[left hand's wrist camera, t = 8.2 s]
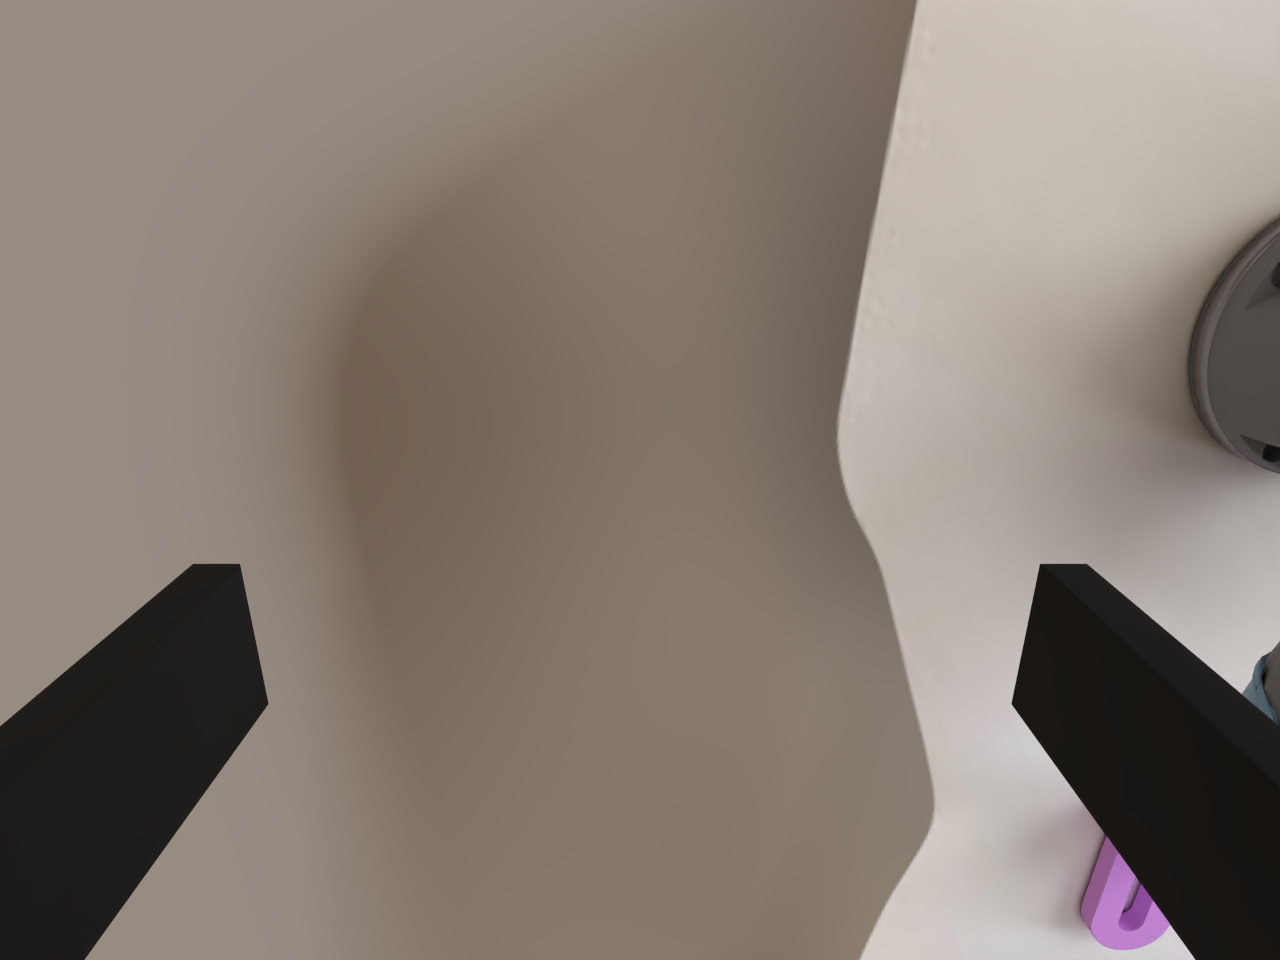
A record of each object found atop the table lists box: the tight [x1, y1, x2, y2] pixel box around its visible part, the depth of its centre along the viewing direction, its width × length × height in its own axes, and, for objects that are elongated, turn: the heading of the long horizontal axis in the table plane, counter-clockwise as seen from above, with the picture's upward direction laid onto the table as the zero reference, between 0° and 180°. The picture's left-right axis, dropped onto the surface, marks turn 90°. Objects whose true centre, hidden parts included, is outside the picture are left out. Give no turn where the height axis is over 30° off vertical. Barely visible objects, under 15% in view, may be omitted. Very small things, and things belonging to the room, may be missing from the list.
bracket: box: [1081, 836, 1170, 950], centre depth 52 cm, size 13×6×7 cm, turn 176°
